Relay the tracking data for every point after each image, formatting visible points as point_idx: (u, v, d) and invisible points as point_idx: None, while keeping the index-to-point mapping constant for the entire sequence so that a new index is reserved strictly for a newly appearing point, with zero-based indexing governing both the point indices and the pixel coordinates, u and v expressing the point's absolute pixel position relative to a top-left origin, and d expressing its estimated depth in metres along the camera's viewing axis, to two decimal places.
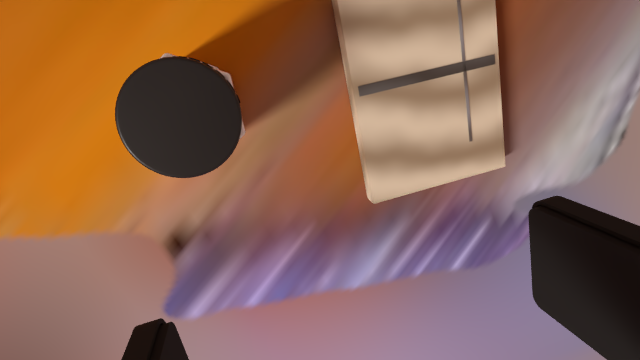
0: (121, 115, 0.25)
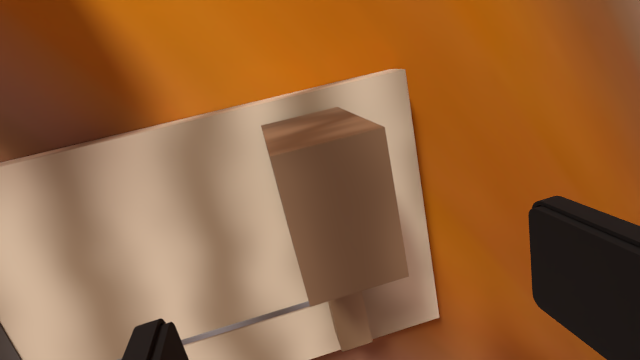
0: None
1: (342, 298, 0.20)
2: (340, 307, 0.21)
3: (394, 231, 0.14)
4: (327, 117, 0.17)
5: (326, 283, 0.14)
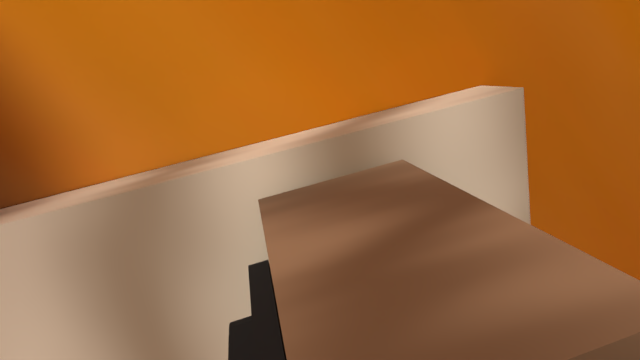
0: None
1: None
2: None
3: None
4: (403, 196, 0.08)
5: None
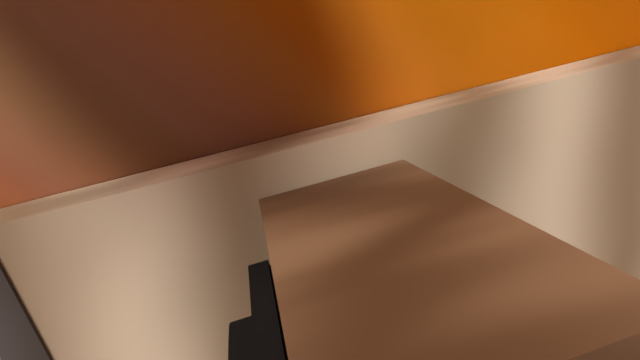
0: None
1: None
2: None
3: None
4: (404, 196, 0.08)
5: None
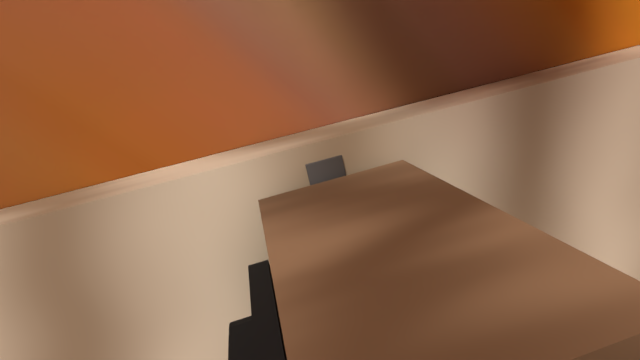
0: None
1: None
2: None
3: None
4: (404, 197, 0.08)
5: None
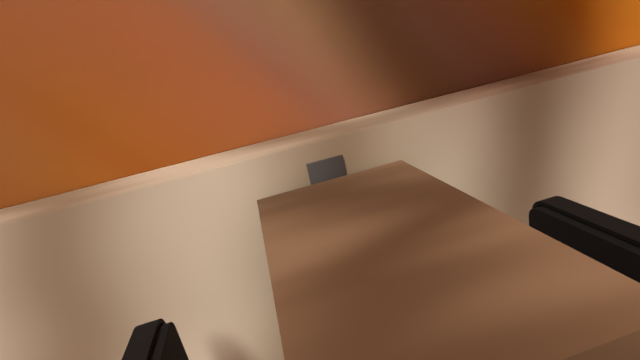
0: None
1: None
2: None
3: None
4: (402, 197, 0.08)
5: None
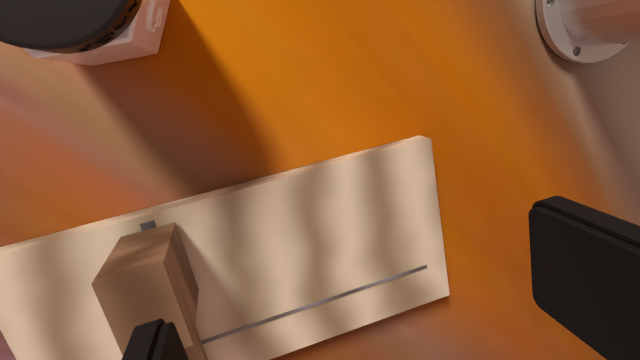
0: None
1: None
2: None
3: (179, 319, 0.24)
4: (156, 238, 0.27)
5: None
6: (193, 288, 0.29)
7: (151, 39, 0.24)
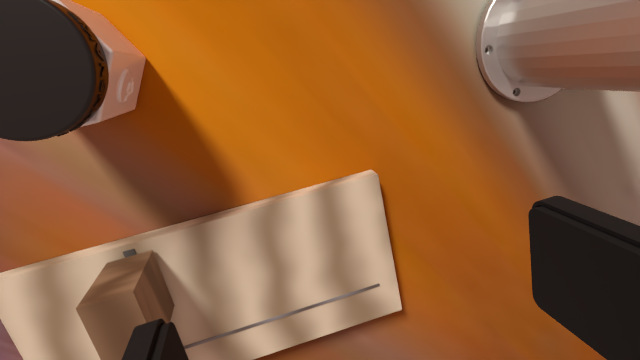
0: None
1: None
2: None
3: None
4: (134, 266, 0.32)
5: None
6: (167, 306, 0.34)
7: (124, 105, 0.29)
